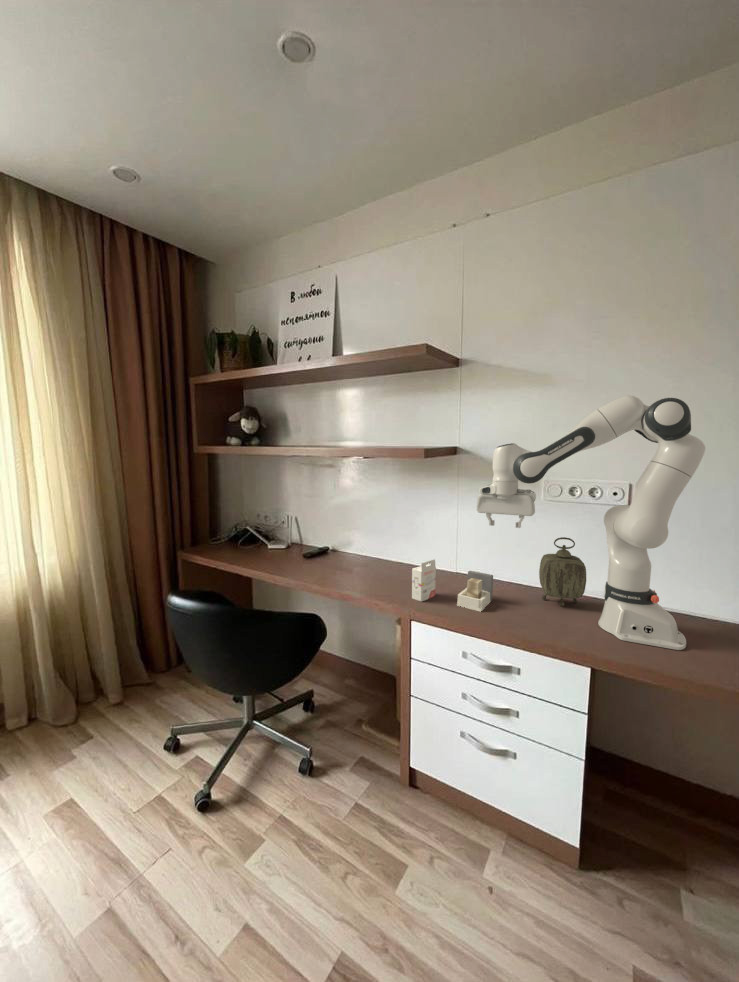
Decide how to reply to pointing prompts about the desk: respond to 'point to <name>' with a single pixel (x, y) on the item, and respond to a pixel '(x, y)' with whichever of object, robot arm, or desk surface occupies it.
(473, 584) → the rail end bracket
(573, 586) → the tabletop clock
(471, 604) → the post socket
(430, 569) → the ink cartridge box
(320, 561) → the desk surface
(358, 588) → the desk surface
